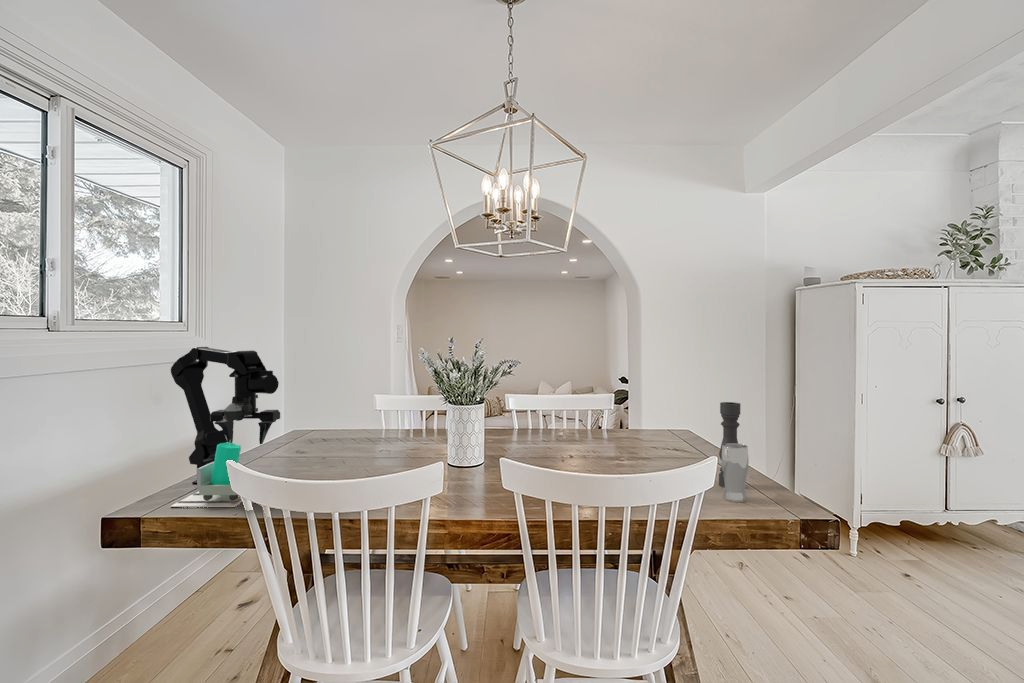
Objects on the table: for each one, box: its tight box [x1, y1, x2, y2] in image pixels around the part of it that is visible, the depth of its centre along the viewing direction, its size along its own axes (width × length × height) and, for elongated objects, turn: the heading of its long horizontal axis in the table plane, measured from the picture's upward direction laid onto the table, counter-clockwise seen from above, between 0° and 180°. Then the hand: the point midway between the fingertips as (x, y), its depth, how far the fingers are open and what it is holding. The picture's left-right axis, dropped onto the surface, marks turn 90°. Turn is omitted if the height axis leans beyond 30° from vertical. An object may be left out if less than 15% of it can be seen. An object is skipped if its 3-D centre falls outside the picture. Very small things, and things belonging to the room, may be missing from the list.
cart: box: [196, 462, 238, 501], centre depth 151 cm, size 10×11×9 cm
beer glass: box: [721, 443, 749, 503], centre depth 152 cm, size 7×7×15 cm
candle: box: [211, 442, 241, 485], centre depth 151 cm, size 6×6×12 cm
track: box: [169, 491, 242, 509], centre depth 151 cm, size 13×17×1 cm
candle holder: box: [718, 401, 741, 489], centre depth 165 cm, size 6×6×25 cm
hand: (245, 444), depth 164 cm, fingers open, 9 cm apart
